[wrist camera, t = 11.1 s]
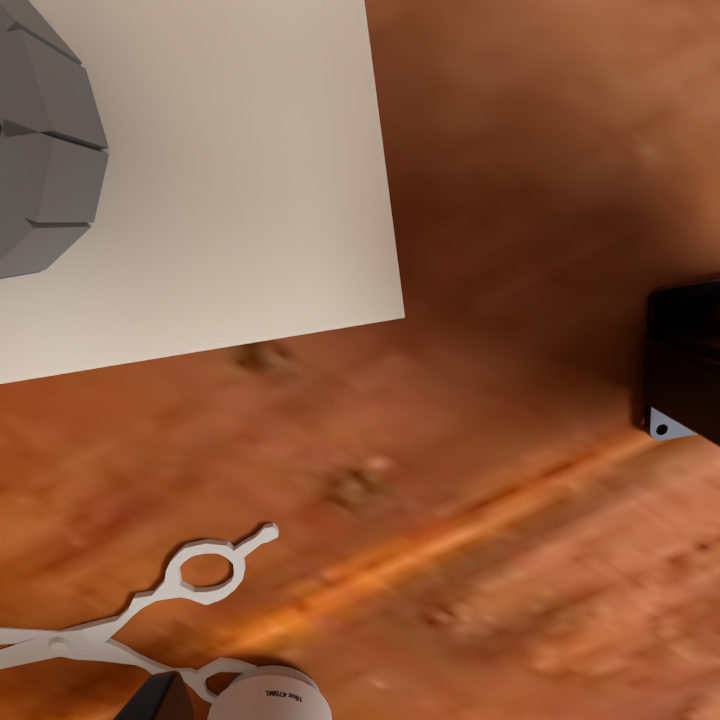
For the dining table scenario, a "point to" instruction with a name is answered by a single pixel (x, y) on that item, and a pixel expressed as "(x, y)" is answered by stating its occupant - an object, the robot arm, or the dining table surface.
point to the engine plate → (186, 179)
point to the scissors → (95, 635)
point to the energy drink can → (271, 697)
